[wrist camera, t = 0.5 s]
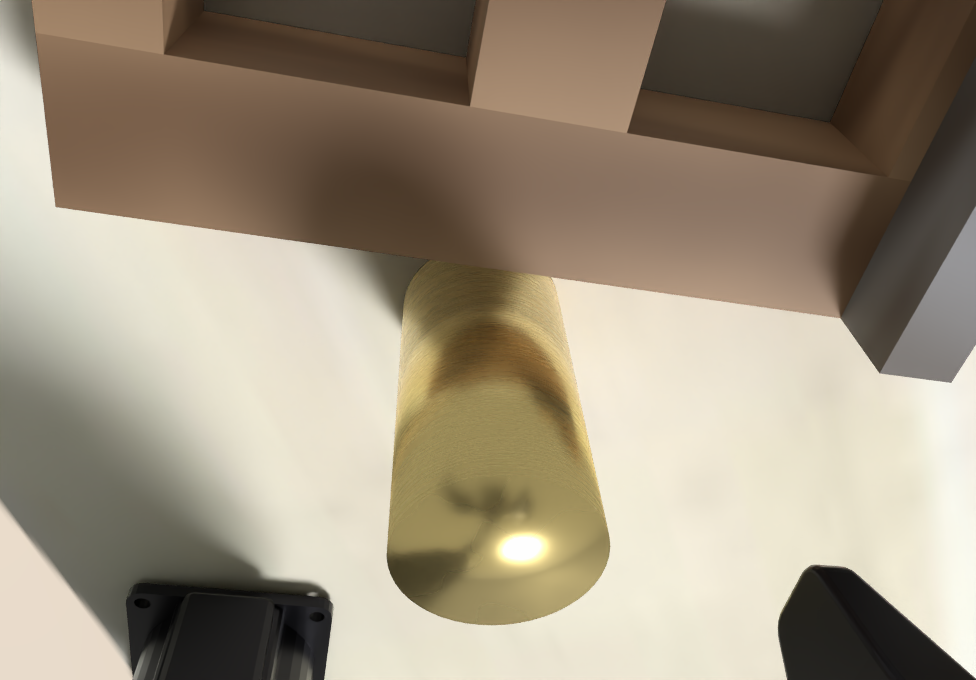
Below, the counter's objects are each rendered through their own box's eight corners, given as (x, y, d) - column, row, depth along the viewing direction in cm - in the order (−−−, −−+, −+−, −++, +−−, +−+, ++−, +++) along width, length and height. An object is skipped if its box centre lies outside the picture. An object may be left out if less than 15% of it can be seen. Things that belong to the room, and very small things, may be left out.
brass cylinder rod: (539, 380, 23) (578, 632, 16) (394, 363, 22) (374, 616, 16) (575, 255, 21) (637, 488, 14) (414, 231, 20) (402, 463, 13)
